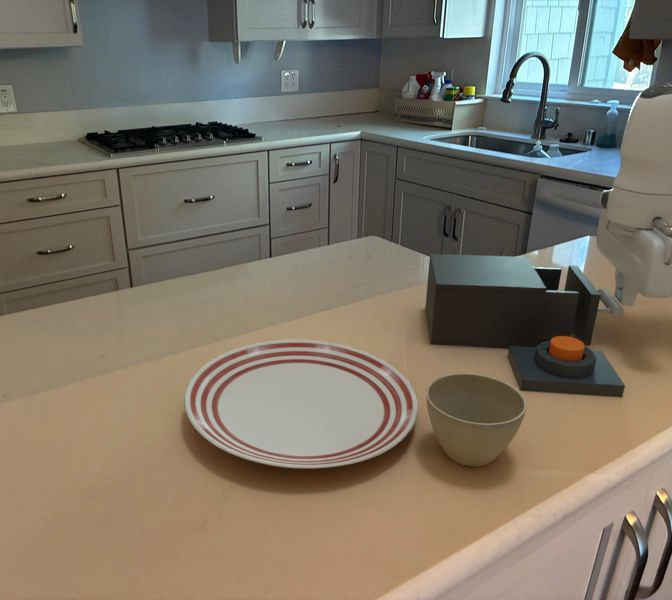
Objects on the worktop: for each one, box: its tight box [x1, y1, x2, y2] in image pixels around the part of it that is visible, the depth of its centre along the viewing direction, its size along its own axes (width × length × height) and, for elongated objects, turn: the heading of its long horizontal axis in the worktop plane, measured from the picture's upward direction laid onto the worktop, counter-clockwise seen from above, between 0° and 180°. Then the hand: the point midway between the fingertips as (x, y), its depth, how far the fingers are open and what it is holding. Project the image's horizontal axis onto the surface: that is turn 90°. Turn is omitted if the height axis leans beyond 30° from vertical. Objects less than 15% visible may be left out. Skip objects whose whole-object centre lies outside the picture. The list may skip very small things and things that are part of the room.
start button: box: [549, 336, 586, 361], centre depth 79 cm, size 4×4×2 cm
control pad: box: [507, 339, 626, 398], centre depth 80 cm, size 12×9×4 cm
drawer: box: [533, 264, 625, 347], centre depth 90 cm, size 18×11×8 cm, turn 81°
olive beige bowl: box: [425, 372, 528, 468], centre depth 65 cm, size 10×10×7 cm
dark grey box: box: [424, 253, 547, 350], centre depth 92 cm, size 15×13×10 cm
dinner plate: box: [183, 339, 419, 469], centre depth 74 cm, size 27×27×3 cm
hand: (623, 301), depth 89 cm, fingers closed
